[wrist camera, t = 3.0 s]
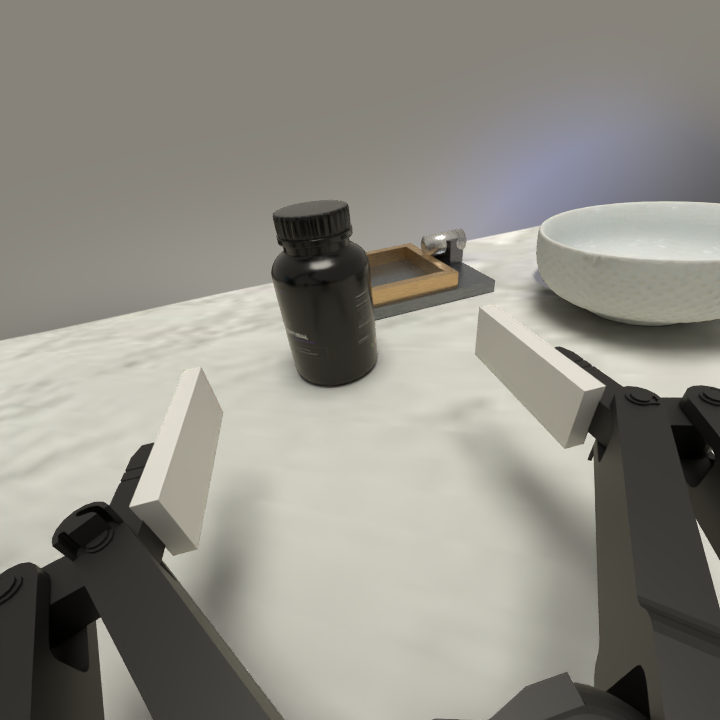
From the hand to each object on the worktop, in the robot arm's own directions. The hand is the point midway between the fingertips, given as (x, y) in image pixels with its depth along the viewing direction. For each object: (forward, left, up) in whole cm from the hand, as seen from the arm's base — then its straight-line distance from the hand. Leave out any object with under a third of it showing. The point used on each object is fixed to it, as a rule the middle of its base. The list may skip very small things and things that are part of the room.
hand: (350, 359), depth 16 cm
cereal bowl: (+23, +15, -7) cm, 29 cm away
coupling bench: (+1, +23, -7) cm, 24 cm away
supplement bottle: (-3, +9, -7) cm, 12 cm away
